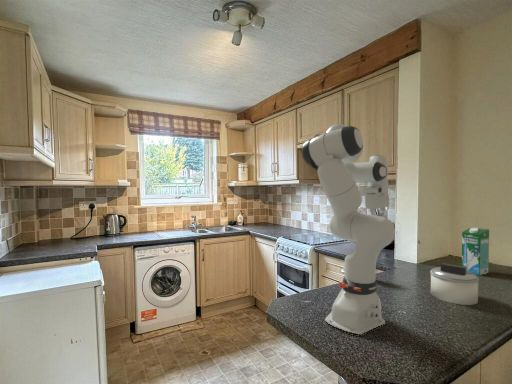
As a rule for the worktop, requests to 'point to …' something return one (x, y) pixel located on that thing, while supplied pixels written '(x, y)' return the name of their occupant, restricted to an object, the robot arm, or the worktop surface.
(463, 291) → the cooker pot
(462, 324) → the worktop surface
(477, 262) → the milk carton
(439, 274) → the lid
